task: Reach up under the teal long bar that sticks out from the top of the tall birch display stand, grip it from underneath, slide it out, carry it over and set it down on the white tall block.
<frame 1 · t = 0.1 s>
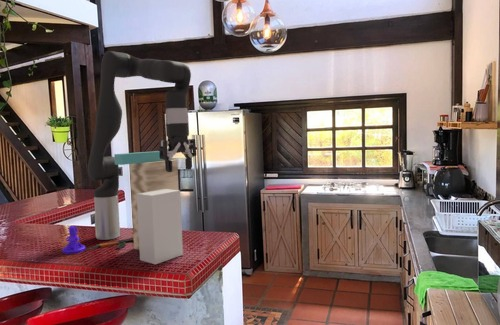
hand: (179, 170, 134), 29 cm above the table, tool pointing down, fingers open, 8 cm apart
white tall block: (161, 257, 136), on the table
figurine: (74, 251, 147), on the table
teal long bar: (144, 162, 144), point 32 cm above the table, touching display stand
toy rifle: (121, 247, 152), on the table
display stand: (157, 246, 150), on the table
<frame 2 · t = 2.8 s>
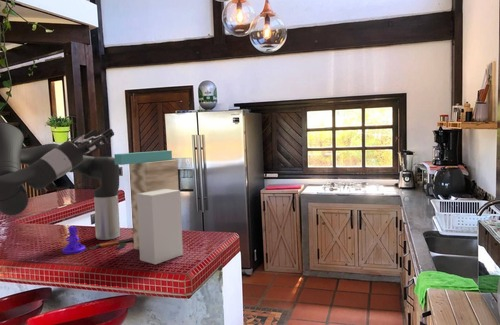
hand: (104, 131, 124), 43 cm above the table, tool pointing upward, fingers open, 8 cm apart
nothing on the table moved.
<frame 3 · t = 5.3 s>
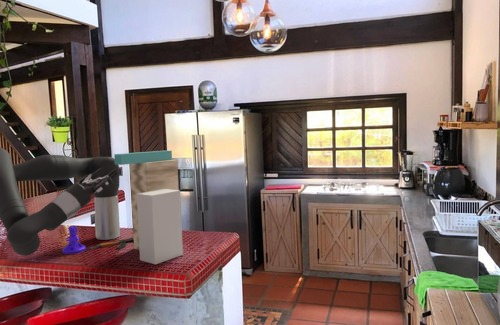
hand: (109, 170, 133), 30 cm above the table, tool pointing upward, fingers open, 8 cm apart
figurine: (74, 251, 147), on the table, touching toy rifle
toy rifle: (122, 247, 152), on the table, touching figurine
everything else where it was.
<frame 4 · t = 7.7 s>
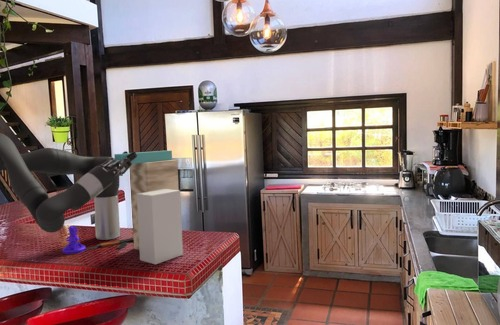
hand: (131, 153, 139), 35 cm above the table, tool pointing upward, fingers closed on teal long bar, 4 cm apart
teal long bar: (144, 162, 144), point 32 cm above the table, touching display stand, gripper
everything else where it was.
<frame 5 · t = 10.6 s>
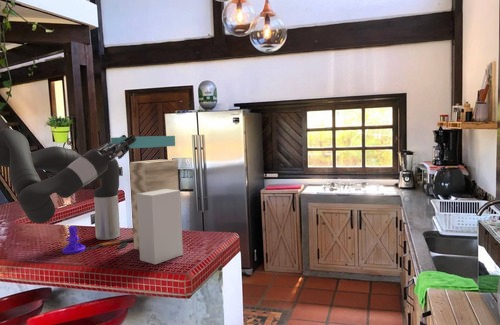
hand: (129, 137, 126), 41 cm above the table, tool pointing upward, fingers closed on teal long bar, 4 cm apart
figurine: (74, 251, 147), on the table
teal long bar: (145, 147, 130), point 38 cm above the table, touching gripper
toy rifle: (123, 246, 152), on the table
when the fingers open (27 cm above the table, at t = 13.9 s): teal long bar stays where it is, resting on white tall block.
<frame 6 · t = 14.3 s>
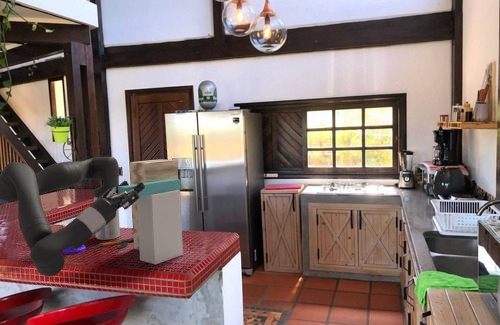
hand: (134, 183, 126), 27 cm above the table, tool pointing upward, fingers open, 8 cm apart
teal long bar: (151, 193, 132), point 22 cm above the table, touching white tall block
everything else where it was.
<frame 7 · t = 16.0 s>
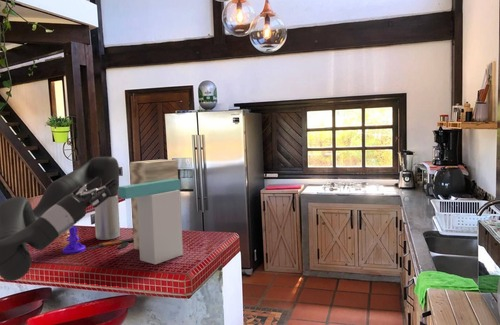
hand: (107, 180, 119), 29 cm above the table, tool pointing upward, fingers open, 8 cm apart
nothing on the table moved.
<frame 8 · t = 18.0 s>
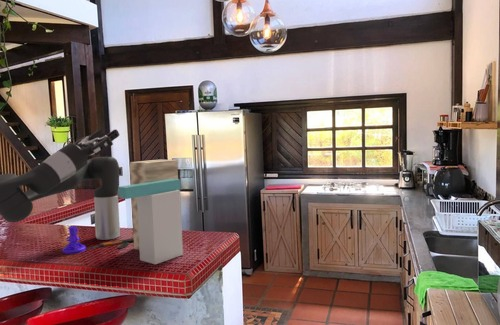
hand: (109, 132, 119), 43 cm above the table, tool pointing upward, fingers open, 8 cm apart
nothing on the table moved.
at the end: teal long bar inside the target area on the white tall block (2.1 cm from its centre), point 22.5 cm above the white tall block's base; teal long bar touching white tall block; the gripper is holding nothing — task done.
